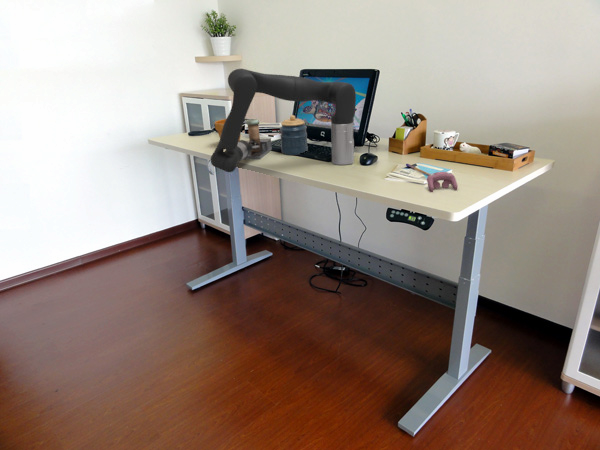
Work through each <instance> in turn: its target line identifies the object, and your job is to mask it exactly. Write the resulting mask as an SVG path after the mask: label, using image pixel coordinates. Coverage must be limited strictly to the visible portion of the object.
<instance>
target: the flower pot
mask: <svg viewBox="0 0 600 450" xmlns="http://www.w3.org/2000/svg"><path fill="white" fill-rule="evenodd" d="M226 119H227V118H225V119H220V120H219V119H218V120H216V121H214V128H215V130H216V131H217V134H218V137H219V139H220V138H221V133H222V129H223V126H224V123H225V121H226ZM240 135H242V134H241V133H240ZM240 140H241V136H240V137H239V141H240Z"/></svg>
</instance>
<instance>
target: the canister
mask: <svg viewBox="0 0 600 450" xmlns="http://www.w3.org/2000/svg"><path fill="white" fill-rule="evenodd" d="M280 124H281V127H279V130H280V135H279V137H280V144H281V145H280V146H281V147H280V149H281V154H283V155H287V156H298V155H301V154H300V153H303V152H305V151H307V152H308V149H309V147H308V133H307V129H308V127H307V125H306V124H305V121H304V120H302V119H301V118H296V116H295V115H294V114H291V115H290V116H289V118H287V119H284V120H283V121H282V122H281V123H280Z"/></svg>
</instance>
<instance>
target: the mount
mask: <svg viewBox="0 0 600 450" xmlns="http://www.w3.org/2000/svg"><path fill="white" fill-rule="evenodd" d="M260 147H261V151H259V152H250V154H249V155H248V156H246V157H245V158H244V159H243V160H261V159H263V158H264V157H265V156H266V155H267V154H269V152H271V151H272V150H273V148H272V139H271V138H260Z"/></svg>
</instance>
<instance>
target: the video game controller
mask: <svg viewBox="0 0 600 450" xmlns="http://www.w3.org/2000/svg"><path fill="white" fill-rule="evenodd" d="M439 181H443V182H442V183H440V182H439ZM426 182H427V186H428V190H429V191H430V193H433V192H434V189H439V188H440V187H442V188H443V189H448V188H449V187H450V185H451V187H452V189H453V190H454V191H457V190H458V183H457V179H456V177H455V175H454V174H453V173H452V172H447V171H438V172H437V171H436V172H433V173H431V174H429V175H427V178H426Z"/></svg>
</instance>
